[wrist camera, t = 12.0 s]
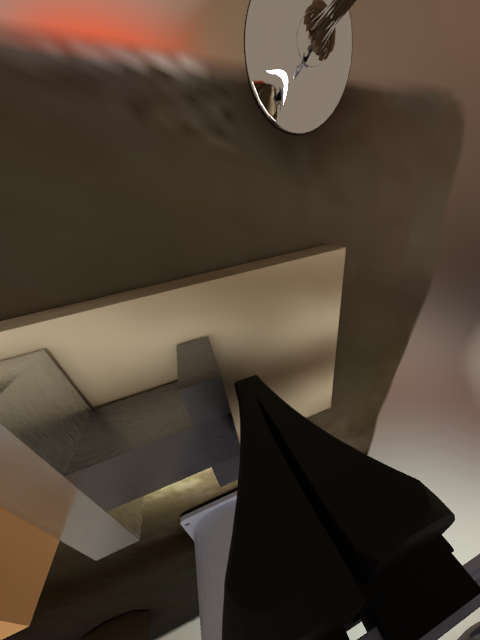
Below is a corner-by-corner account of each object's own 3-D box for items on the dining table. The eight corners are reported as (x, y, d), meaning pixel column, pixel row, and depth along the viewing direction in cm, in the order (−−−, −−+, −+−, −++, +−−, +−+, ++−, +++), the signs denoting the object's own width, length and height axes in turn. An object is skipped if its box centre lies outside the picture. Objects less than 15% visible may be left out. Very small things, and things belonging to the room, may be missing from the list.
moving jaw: (237, 440, 13) (251, 487, 11) (111, 492, 12) (96, 560, 10) (200, 307, 9) (211, 341, 6) (-19, 367, 7) (-117, 440, 5)
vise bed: (318, 393, 17) (330, 407, 16) (-2, 520, 12) (-22, 554, 11) (325, 244, 11) (345, 247, 10) (-265, 383, 7) (-370, 422, 5)
